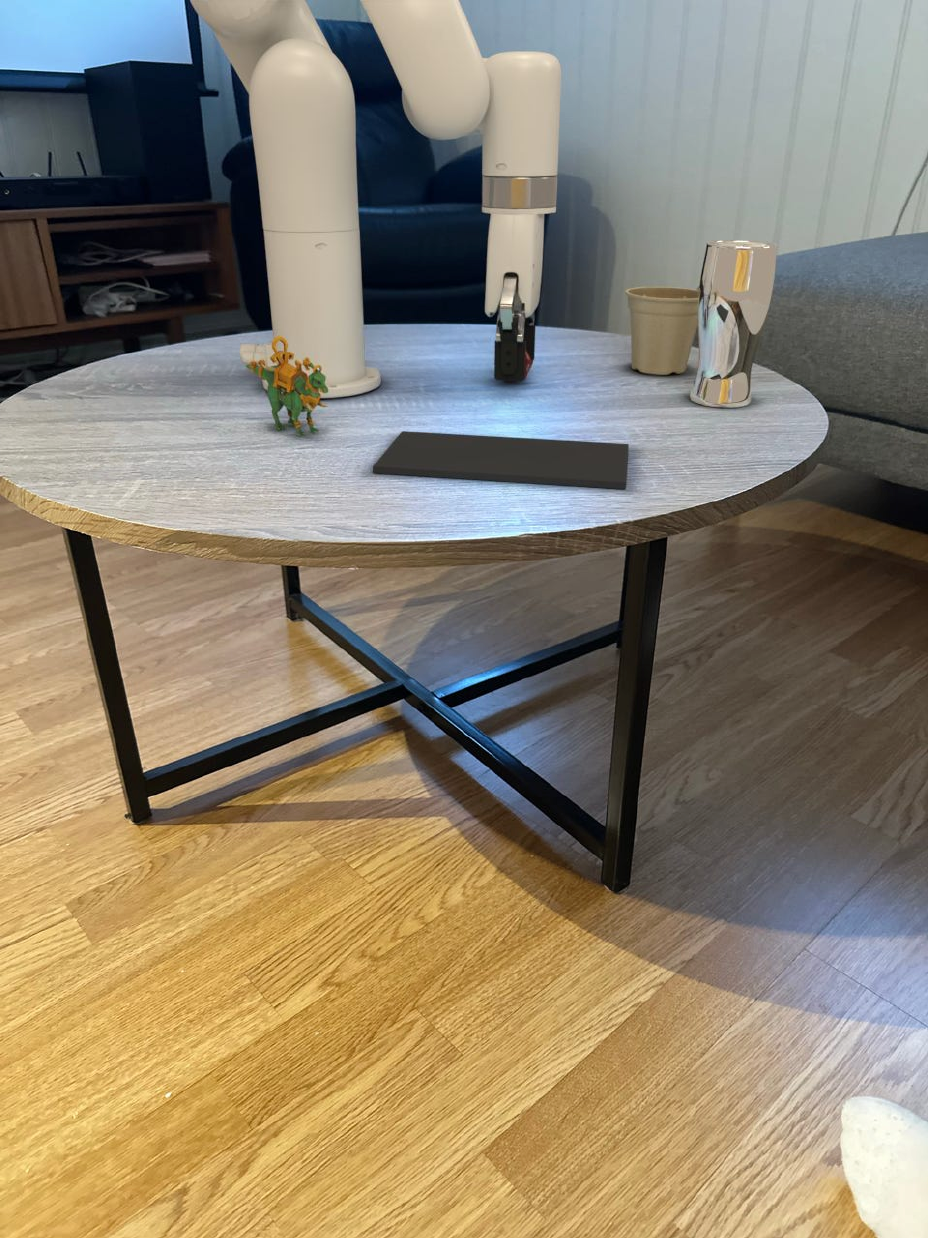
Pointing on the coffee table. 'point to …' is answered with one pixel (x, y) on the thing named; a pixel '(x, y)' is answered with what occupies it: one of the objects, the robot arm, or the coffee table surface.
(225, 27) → the robot arm
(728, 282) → the beer glass
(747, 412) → the coffee table surface
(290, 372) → the figurine
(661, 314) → the flower pot
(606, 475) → the mat
